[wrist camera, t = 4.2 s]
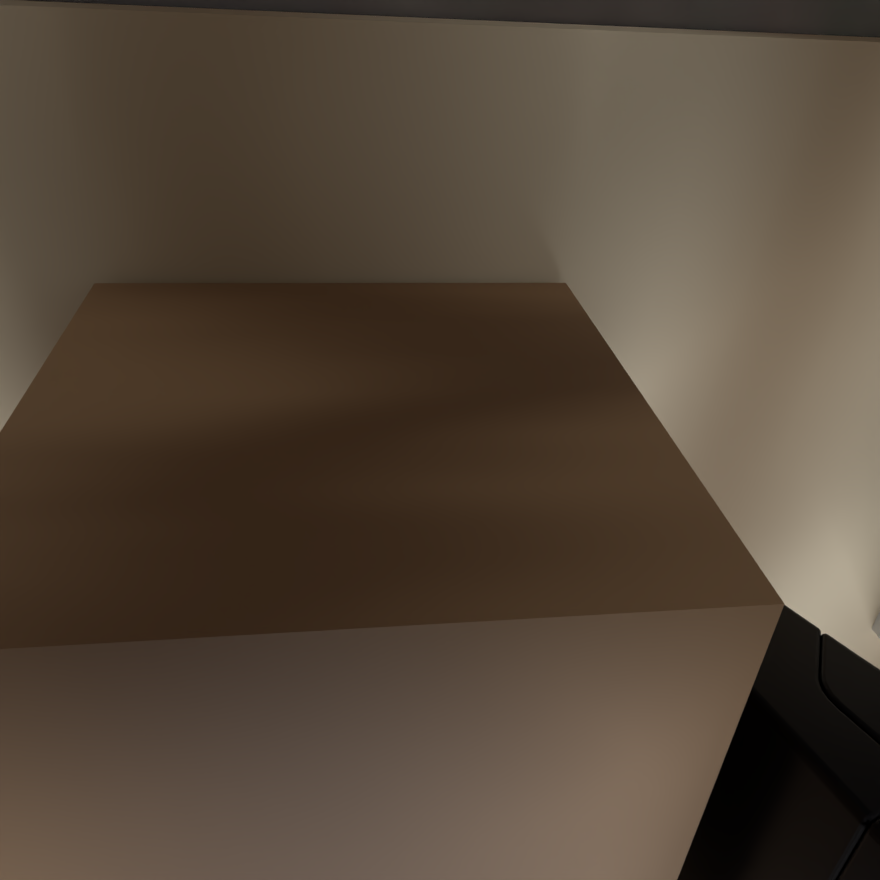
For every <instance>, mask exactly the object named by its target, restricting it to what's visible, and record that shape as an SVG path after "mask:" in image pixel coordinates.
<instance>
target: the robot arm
mask: <svg viewBox="0 0 880 880" xmlns="http://www.w3.org/2000/svg"><path fill="white" fill-rule="evenodd" d="M677 880H880V669H878V668H877V667H875V666H874V665H872V664H871V663H869V662H868V661H866V660H865V659H863V658H862V657H860V656H859V655H857V654H856V653H854V652H853V651H851V650H850V649H849V648H847V647H846V646H844V645H843V644H841V643H840V642H838V641H837V640H836V639H834V638H833V637H831V636H830V635H828V634H822V635H821V630H820V629H819V628H818V627H816V626H815V625H813V624H812V623H811V622H809V621H808V620H806V619H805V618H803V617H802V616H800V615H799V614H797V613H796V612H795V611H793V610H792V609H790V608H789V607H787V606H786V605H784V607H783V609H782V612H781V615H780V617H779V620H778V622H777V625H776V627H775V630H774V632H773V635H772V638H771V640H770V643H769V645H768V648H767V650H766V653H765V656H764V658H763V661H762V663H761V666H760V668H759V671H758V674H757V676H756V679H755V681H754V684H753V686H752V689H751V692H750V694H749V697H748V699H747V702H746V704H745V707H744V709H743V712H742V715H741V717H740V720H739V722H738V725H737V727H736V730H735V733H734V735H733V738H732V740H731V743H730V745H729V748H728V751H727V753H726V756H725V758H724V761H723V763H722V766H721V769H720V771H719V774H718V776H717V779H716V781H715V784H714V786H713V789H712V792H711V794H710V797H709V799H708V802H707V804H706V807H705V810H704V812H703V815H702V817H701V820H700V822H699V825H698V828H697V830H696V833H695V835H694V838H693V840H692V843H691V846H690V848H689V851H688V853H687V856H686V858H685V861H684V863H683V866H682V869H681V871H680V874H679V876H678V879H677Z"/></svg>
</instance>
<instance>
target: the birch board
mask: <svg viewBox="0 0 880 880" xmlns="http://www.w3.org/2000/svg"><path fill="white" fill-rule="evenodd" d="M94 283H566V284H567V285H568V287H569V288H570V290H571V291H572V293H573V294H574V296H575V297H576V298H577V300H578V301H579V303H580V304H581V306H582V307H583V309H584V310H585V312H586V313H587V315H588V316H589V318H590V319H591V320H592V322H593V323H594V325H595V326H596V328H597V329H598V331H599V332H600V334H601V335H602V337H603V338H604V340H605V341H606V343H607V344H608V345H609V347H610V348H611V350H612V351H613V353H614V354H615V356H616V357H617V359H618V360H619V362H620V363H621V365H622V366H623V367H624V369H625V370H626V372H627V373H628V375H629V376H630V378H631V379H632V381H633V382H634V384H635V385H636V387H637V388H638V390H639V391H640V392H641V394H642V395H643V397H644V398H645V400H646V401H647V403H648V404H649V406H650V407H651V409H652V410H653V412H654V413H655V414H656V416H657V417H658V419H659V420H660V422H661V423H662V425H663V426H664V428H665V429H666V431H667V432H668V434H669V435H670V436H671V438H672V439H673V441H674V442H675V444H676V445H677V447H678V448H679V450H680V451H681V453H682V454H683V456H684V457H685V459H686V460H687V461H688V463H689V464H690V466H691V467H692V469H693V470H694V472H695V473H696V475H697V476H698V478H699V479H700V481H701V482H702V483H703V485H704V486H705V488H706V489H707V491H708V492H709V494H710V495H711V497H712V498H713V500H714V501H715V503H716V504H717V506H718V507H719V508H720V510H721V511H722V513H723V514H724V516H725V517H726V519H727V520H728V522H729V523H730V525H731V526H732V528H733V529H734V530H735V532H736V533H737V535H738V536H739V538H740V539H741V541H742V542H743V544H744V545H745V547H746V548H747V550H748V551H749V553H750V554H751V555H752V557H753V558H754V560H755V561H756V563H757V564H758V566H759V567H760V569H761V570H762V572H763V573H764V575H765V576H766V577H767V579H768V580H769V582H770V583H771V585H772V586H773V588H774V589H775V591H776V592H777V594H778V595H779V597H780V598H781V599H782V601H783V602H784V605H786V606H787V607H789V608H790V609H792V610H793V611H795V612H796V613H797V614H799V615H800V616H802V617H803V618H805V619H806V620H808V621H809V622H811V623H812V624H813V625H815V626H816V627H818V628H819V629H820V630H821V635H822V634H828V635H830V636H831V637H833V638H834V639H836V640H837V641H838V642H840V643H841V644H843V645H844V646H846V647H847V648H849V649H850V650H851V651H853V652H854V653H856V654H857V655H859V656H860V657H862V658H863V659H865V660H866V661H868V662H869V663H871V664H872V665H874V666H875V667H877V668H878V669H880V639H879V637H878V636H877V635H876V633H875V632H874V631H873V630H872V626H873V624H874V622H875V620H876V618H877V616H878V614H879V612H880V38H879V37H856V36H833V35H810V34H787V33H764V32H741V31H718V30H695V29H672V28H648V27H625V26H602V25H579V24H556V23H533V22H510V21H487V20H464V19H441V18H417V17H394V16H371V15H348V14H325V13H302V12H279V11H256V10H233V9H210V8H187V7H164V6H140V5H117V4H94V3H71V2H48V1H25V0H0V432H1V430H2V428H3V427H4V425H5V424H6V422H7V420H8V419H9V417H10V416H11V414H12V413H13V411H14V409H15V408H16V406H17V405H18V403H19V402H20V400H21V398H22V397H23V395H24V394H25V392H26V391H27V389H28V387H29V386H30V384H31V383H32V381H33V379H34V378H35V376H36V375H37V373H38V372H39V370H40V368H41V367H42V365H43V364H44V362H45V361H46V359H47V357H48V356H49V354H50V353H51V351H52V349H53V348H54V346H55V345H56V343H57V342H58V340H59V338H60V337H61V335H62V334H63V332H64V331H65V329H66V327H67V326H68V324H69V323H70V321H71V320H72V318H73V316H74V315H75V313H76V312H77V310H78V308H79V307H80V305H81V304H82V302H83V301H84V299H85V297H86V296H87V294H88V293H89V291H90V290H91V288H92V286H93V285H94Z"/></svg>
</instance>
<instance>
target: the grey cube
mask: <svg viewBox="0 0 880 880" xmlns="http://www.w3.org/2000/svg"><path fill="white" fill-rule="evenodd" d="M872 630H873V631H874V632H875V633H876V635H877V636H878V637H879V639H880V612H879V614H878V616H877V618H876V620H875V622H874V624H873V626H872Z"/></svg>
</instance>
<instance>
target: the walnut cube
mask: <svg viewBox="0 0 880 880" xmlns="http://www.w3.org/2000/svg"><path fill="white" fill-rule="evenodd" d="M783 607H784V602H783V601H782V599H781V598H780V597H779V595H778V594H777V592H776V591H775V589H774V588H773V586H772V585H771V583H770V582H769V580H768V579H767V577H766V576H765V575H764V573H763V572H762V570H761V569H760V567H759V566H758V564H757V563H756V561H755V560H754V558H753V557H752V555H751V554H750V553H749V551H748V550H747V548H746V547H745V545H744V544H743V542H742V541H741V539H740V538H739V536H738V535H737V533H736V532H735V530H734V529H733V528H732V526H731V525H730V523H729V522H728V520H727V519H726V517H725V516H724V514H723V513H722V511H721V510H720V508H719V507H718V506H717V504H716V503H715V501H714V500H713V498H712V497H711V495H710V494H709V492H708V491H707V489H706V488H705V486H704V485H703V483H702V482H701V481H700V479H699V478H698V476H697V475H696V473H695V472H694V470H693V469H692V467H691V466H690V464H689V463H688V461H687V460H686V459H685V457H684V456H683V454H682V453H681V451H680V450H679V448H678V447H677V445H676V444H675V442H674V441H673V439H672V438H671V436H670V435H669V434H668V432H667V431H666V429H665V428H664V426H663V425H662V423H661V422H660V420H659V419H658V417H657V416H656V414H655V413H654V412H653V410H652V409H651V407H650V406H649V404H648V403H647V401H646V400H645V398H644V397H643V395H642V394H641V392H640V391H639V390H638V388H637V387H636V385H635V384H634V382H633V381H632V379H631V378H630V376H629V375H628V373H627V372H626V370H625V369H624V367H623V366H622V365H621V363H620V362H619V360H618V359H617V357H616V356H615V354H614V353H613V351H612V350H611V348H610V347H609V345H608V344H607V343H606V341H605V340H604V338H603V337H602V335H601V334H600V332H599V331H598V329H597V328H596V326H595V325H594V323H593V322H592V320H591V319H590V318H589V316H588V315H587V313H586V312H585V310H584V309H583V307H582V306H581V304H580V303H579V301H578V300H577V298H576V297H575V296H574V294H573V293H572V291H571V290H570V288H569V287H568V285H567V284H566V283H94V285H93V286H92V288H91V290H90V291H89V293H88V294H87V296H86V297H85V299H84V301H83V302H82V304H81V305H80V307H79V308H78V310H77V312H76V313H75V315H74V316H73V318H72V320H71V321H70V323H69V324H68V326H67V327H66V329H65V331H64V332H63V334H62V335H61V337H60V338H59V340H58V342H57V343H56V345H55V346H54V348H53V349H52V351H51V353H50V354H49V356H48V357H47V359H46V361H45V362H44V364H43V365H42V367H41V368H40V370H39V372H38V373H37V375H36V376H35V378H34V379H33V381H32V383H31V384H30V386H29V387H28V389H27V391H26V392H25V394H24V395H23V397H22V398H21V400H20V402H19V403H18V405H17V406H16V408H15V409H14V411H13V413H12V414H11V416H10V417H9V419H8V420H7V422H6V424H5V425H4V427H3V428H2V430H1V432H0V880H677V879H678V876H679V874H680V871H681V869H682V866H683V863H684V861H685V858H686V856H687V853H688V851H689V848H690V846H691V843H692V840H693V838H694V835H695V833H696V830H697V828H698V825H699V822H700V820H701V817H702V815H703V812H704V810H705V807H706V804H707V802H708V799H709V797H710V794H711V792H712V789H713V786H714V784H715V781H716V779H717V776H718V774H719V771H720V769H721V766H722V763H723V761H724V758H725V756H726V753H727V751H728V748H729V745H730V743H731V740H732V738H733V735H734V733H735V730H736V727H737V725H738V722H739V720H740V717H741V715H742V712H743V709H744V707H745V704H746V702H747V699H748V697H749V694H750V692H751V689H752V686H753V684H754V681H755V679H756V676H757V674H758V671H759V668H760V666H761V663H762V661H763V658H764V656H765V653H766V650H767V648H768V645H769V643H770V640H771V638H772V635H773V632H774V630H775V627H776V625H777V622H778V620H779V617H780V615H781V612H782V609H783Z"/></svg>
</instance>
